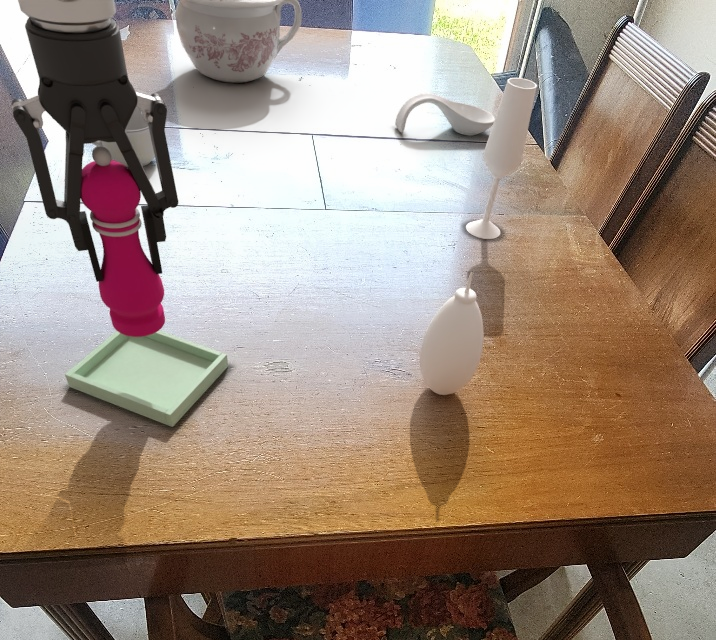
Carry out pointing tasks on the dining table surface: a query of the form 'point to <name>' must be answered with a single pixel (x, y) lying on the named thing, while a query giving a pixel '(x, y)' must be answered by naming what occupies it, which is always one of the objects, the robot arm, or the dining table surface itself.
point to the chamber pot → (233, 36)
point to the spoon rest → (450, 114)
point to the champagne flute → (505, 145)
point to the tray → (149, 374)
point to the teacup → (133, 140)
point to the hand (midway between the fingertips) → (127, 270)
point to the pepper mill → (122, 247)
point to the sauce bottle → (453, 343)
